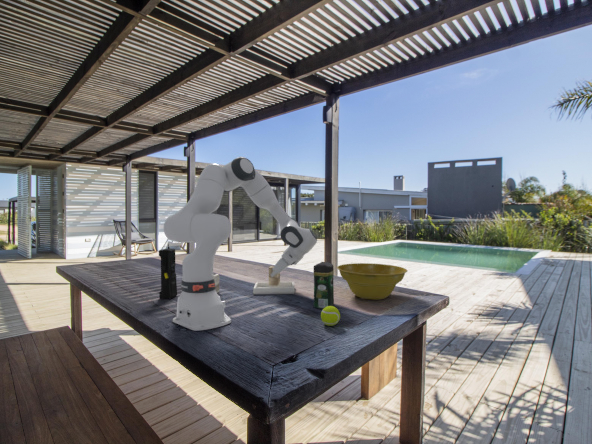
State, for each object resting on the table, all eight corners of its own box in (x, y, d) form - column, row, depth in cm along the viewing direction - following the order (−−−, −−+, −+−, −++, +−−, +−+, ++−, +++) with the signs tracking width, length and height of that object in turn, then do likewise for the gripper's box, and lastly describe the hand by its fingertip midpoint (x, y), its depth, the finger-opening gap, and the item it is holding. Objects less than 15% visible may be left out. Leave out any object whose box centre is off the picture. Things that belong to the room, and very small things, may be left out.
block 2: (280, 283, 162) (279, 265, 161) (277, 285, 157) (277, 267, 157) (271, 283, 163) (271, 265, 162) (268, 285, 158) (268, 267, 158)
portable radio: (171, 299, 143) (170, 245, 143) (158, 299, 144) (157, 245, 143) (178, 295, 151) (177, 243, 151) (165, 295, 151) (164, 243, 151)
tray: (293, 287, 167) (293, 281, 167) (294, 293, 153) (294, 287, 153) (256, 287, 166) (256, 282, 166) (253, 294, 152) (253, 288, 152)
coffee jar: (317, 302, 138) (317, 260, 137) (335, 304, 135) (335, 261, 135) (311, 308, 128) (311, 263, 128) (330, 310, 126) (330, 264, 125)
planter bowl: (398, 288, 163) (398, 263, 162) (416, 306, 131) (416, 274, 130) (335, 287, 166) (335, 262, 166) (338, 304, 134) (337, 273, 134)
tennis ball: (324, 329, 105) (324, 309, 105) (318, 323, 111) (317, 304, 111) (343, 327, 107) (343, 308, 106) (335, 321, 113) (335, 302, 113)
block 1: (219, 292, 158) (219, 273, 158) (215, 294, 153) (215, 275, 153) (211, 291, 159) (210, 273, 159) (206, 293, 154) (206, 275, 154)
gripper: (292, 249, 168) (274, 267, 170) (282, 254, 148) (262, 274, 150) (300, 257, 167) (282, 275, 170) (291, 263, 147) (271, 283, 150)
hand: (273, 274), depth 160 cm, fingers closed on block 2, 5 cm apart
